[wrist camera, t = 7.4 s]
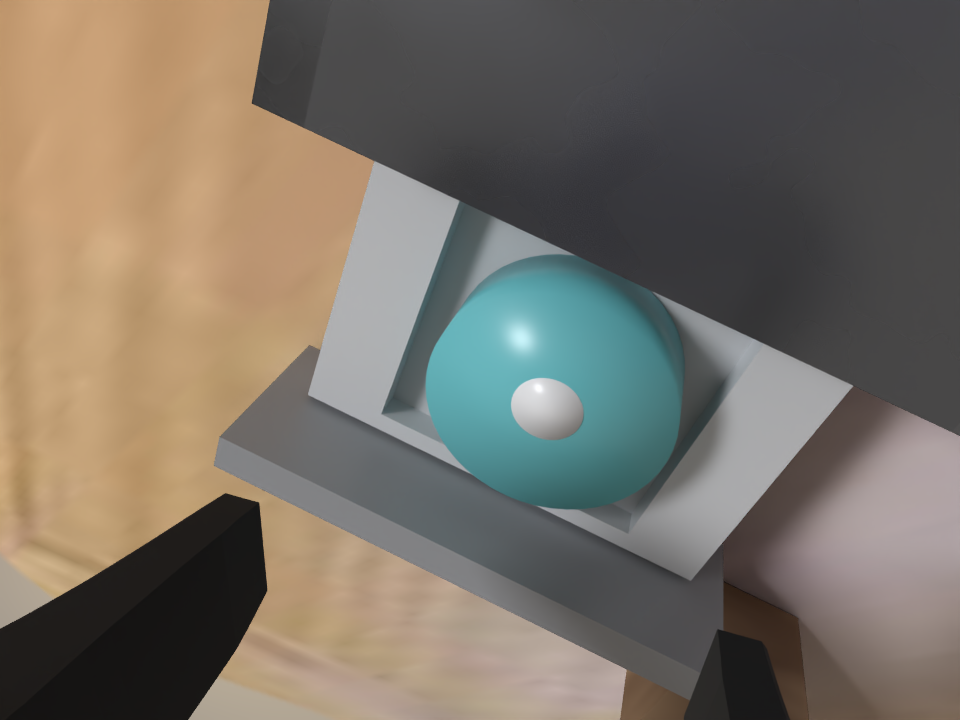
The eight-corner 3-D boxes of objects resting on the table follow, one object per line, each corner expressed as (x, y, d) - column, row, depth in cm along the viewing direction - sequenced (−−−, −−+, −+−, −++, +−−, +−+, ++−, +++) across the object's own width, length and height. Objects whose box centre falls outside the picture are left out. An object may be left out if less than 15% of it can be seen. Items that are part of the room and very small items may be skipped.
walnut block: (798, 618, 22) (811, 742, 19) (733, 681, 24) (735, 803, 21) (686, 564, 22) (679, 677, 19) (631, 631, 24) (616, 744, 21)
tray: (1044, 161, 14) (1162, 248, 10) (705, 566, 21) (701, 705, 18) (435, -114, 15) (334, -127, 11) (302, 371, 22) (213, 465, 18)
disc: (734, 396, 17) (735, 449, 15) (547, 488, 20) (530, 541, 18) (584, 204, 16) (567, 240, 14) (409, 333, 19) (377, 374, 17)
